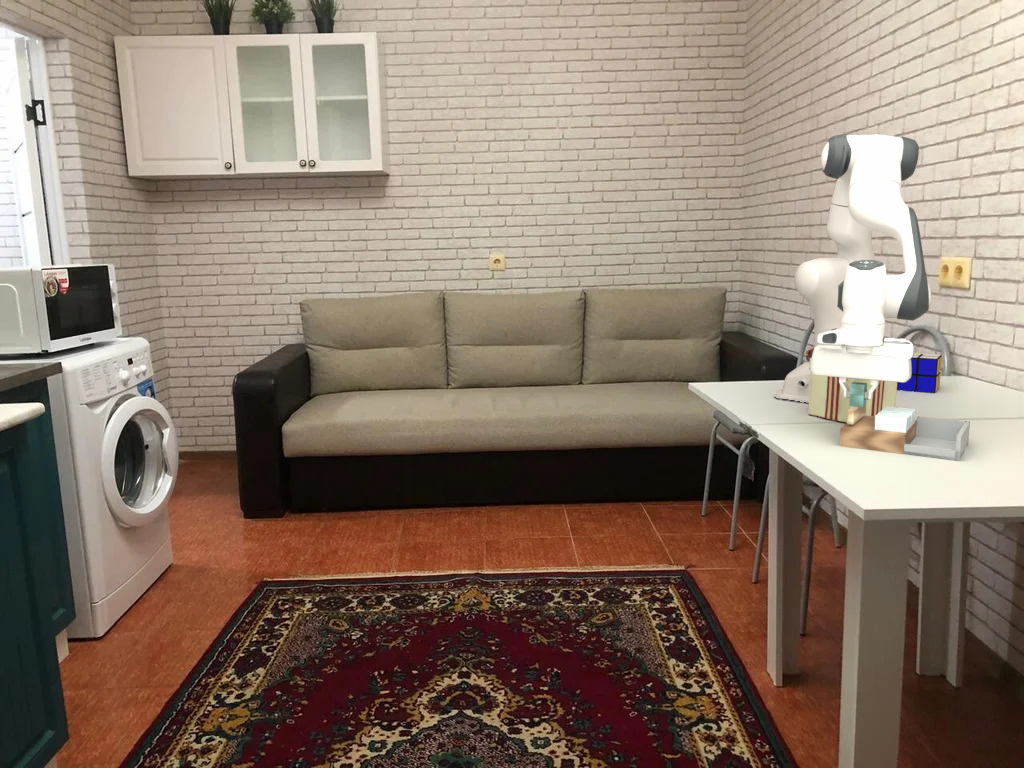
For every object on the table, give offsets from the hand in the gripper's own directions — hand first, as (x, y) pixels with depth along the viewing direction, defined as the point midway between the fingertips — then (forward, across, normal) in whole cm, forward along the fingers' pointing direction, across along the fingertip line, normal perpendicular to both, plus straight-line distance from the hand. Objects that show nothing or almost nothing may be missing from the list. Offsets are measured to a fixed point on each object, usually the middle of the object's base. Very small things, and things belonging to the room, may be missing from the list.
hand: (857, 398), depth 171 cm
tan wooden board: (+9, -5, 0) cm, 10 cm away
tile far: (+5, -8, -3) cm, 10 cm away
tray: (+9, -16, 0) cm, 18 cm away
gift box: (+10, +6, -24) cm, 26 cm away
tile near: (+5, -8, +3) cm, 10 cm away
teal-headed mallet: (+5, 0, 0) cm, 5 cm away
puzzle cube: (+10, -2, -70) cm, 71 cm away
